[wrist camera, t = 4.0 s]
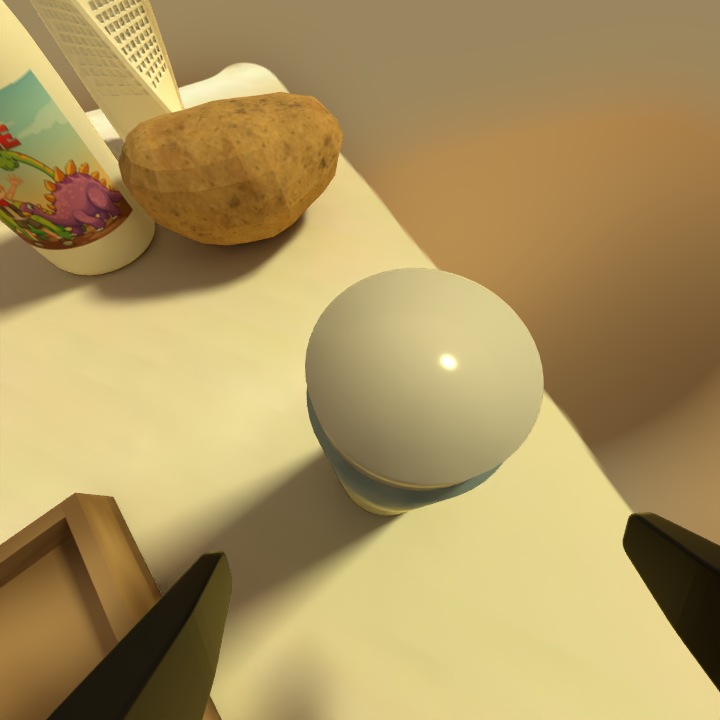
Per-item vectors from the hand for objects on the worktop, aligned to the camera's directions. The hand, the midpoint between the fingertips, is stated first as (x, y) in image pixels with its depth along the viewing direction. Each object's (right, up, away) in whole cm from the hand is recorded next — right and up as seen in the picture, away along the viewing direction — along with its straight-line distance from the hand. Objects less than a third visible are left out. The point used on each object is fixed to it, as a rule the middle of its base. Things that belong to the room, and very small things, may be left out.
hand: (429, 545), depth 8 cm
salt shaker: (0, -2, +11) cm, 11 cm away
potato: (-9, +15, +19) cm, 26 cm away
